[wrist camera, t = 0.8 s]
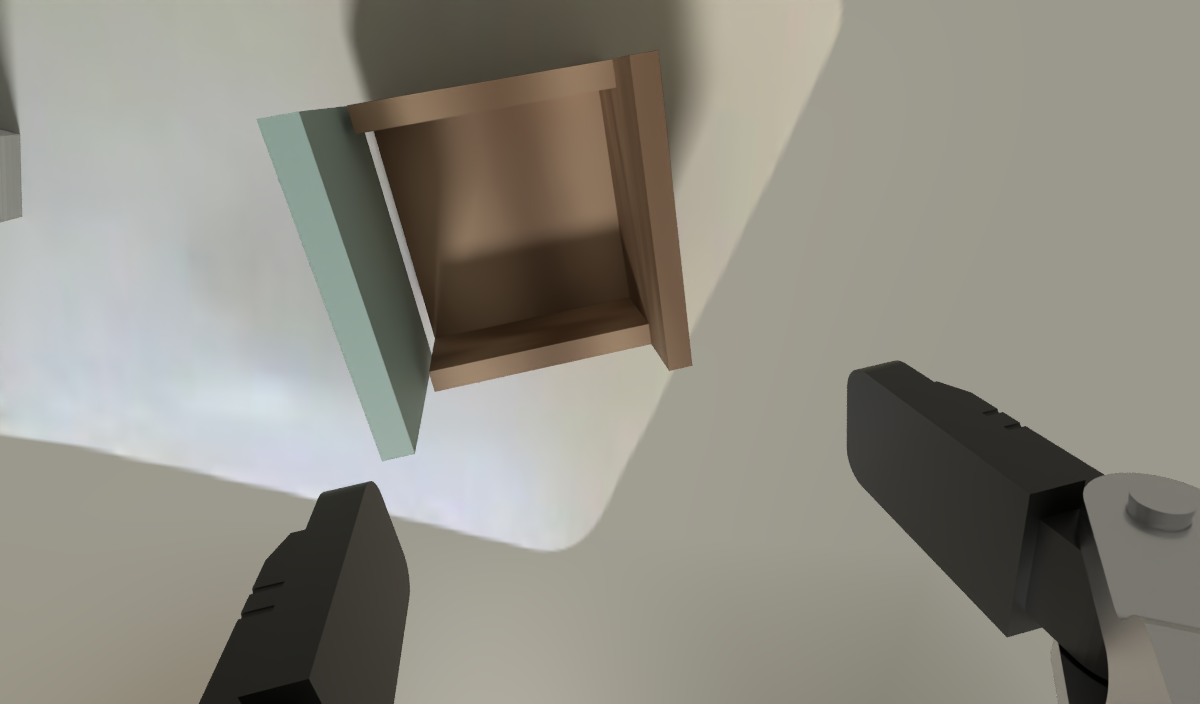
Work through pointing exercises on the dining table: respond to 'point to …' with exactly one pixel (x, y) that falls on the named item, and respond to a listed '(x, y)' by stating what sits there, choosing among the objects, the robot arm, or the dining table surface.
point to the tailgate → (355, 266)
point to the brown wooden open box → (538, 216)
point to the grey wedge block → (10, 176)
